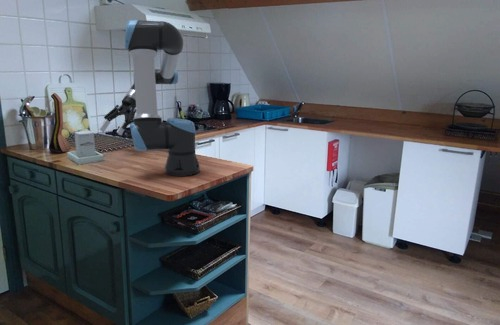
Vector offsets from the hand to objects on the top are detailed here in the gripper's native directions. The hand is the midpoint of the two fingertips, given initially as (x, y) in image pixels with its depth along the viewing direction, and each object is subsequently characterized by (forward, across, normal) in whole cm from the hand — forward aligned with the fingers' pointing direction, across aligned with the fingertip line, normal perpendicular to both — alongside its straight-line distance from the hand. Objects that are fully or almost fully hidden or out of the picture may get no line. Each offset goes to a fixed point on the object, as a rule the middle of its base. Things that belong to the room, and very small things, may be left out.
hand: (109, 132), depth 198 cm
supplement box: (+17, +1, +2) cm, 17 cm away
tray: (+18, +2, +2) cm, 18 cm away
